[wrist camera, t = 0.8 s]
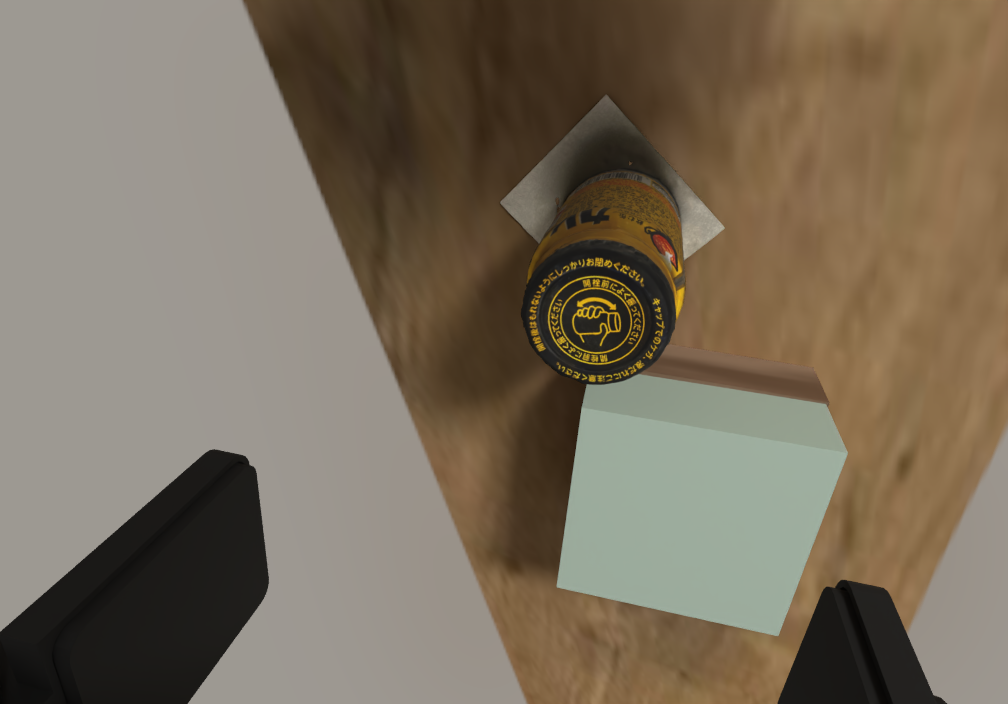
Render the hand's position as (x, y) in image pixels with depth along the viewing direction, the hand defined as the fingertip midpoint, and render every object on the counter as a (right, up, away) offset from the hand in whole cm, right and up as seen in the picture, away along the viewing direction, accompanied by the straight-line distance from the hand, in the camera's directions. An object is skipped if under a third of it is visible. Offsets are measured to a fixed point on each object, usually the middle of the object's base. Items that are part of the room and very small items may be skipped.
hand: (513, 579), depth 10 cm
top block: (+9, -3, +22) cm, 24 cm away
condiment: (+5, +11, +21) cm, 24 cm away
